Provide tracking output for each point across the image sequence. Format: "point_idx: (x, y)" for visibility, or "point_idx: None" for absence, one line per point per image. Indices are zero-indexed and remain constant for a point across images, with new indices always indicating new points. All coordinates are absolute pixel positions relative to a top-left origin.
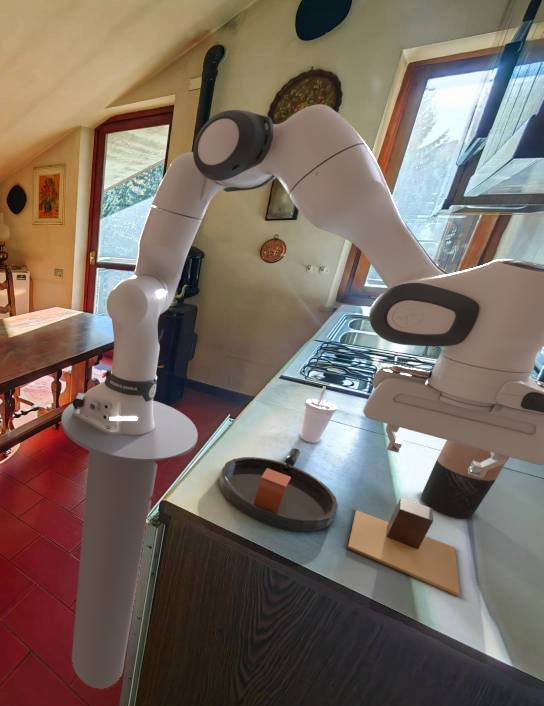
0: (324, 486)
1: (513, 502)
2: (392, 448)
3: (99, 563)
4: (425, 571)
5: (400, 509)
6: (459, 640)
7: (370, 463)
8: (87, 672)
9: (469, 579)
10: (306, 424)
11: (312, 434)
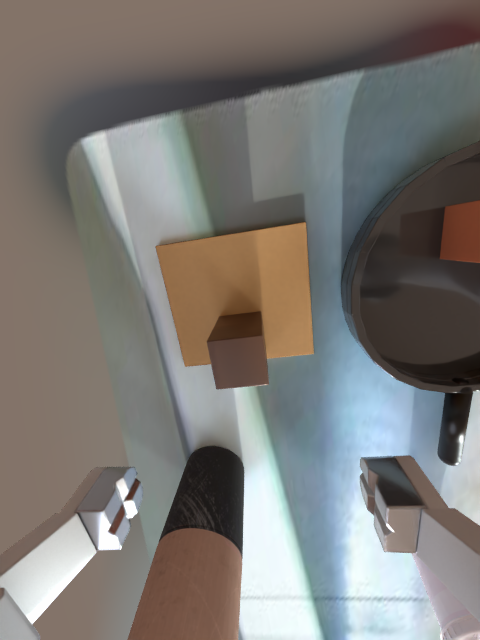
0: (384, 364)
1: (161, 529)
2: (397, 466)
3: None
4: (199, 262)
5: (261, 334)
6: (132, 125)
7: (317, 511)
8: None
9: (157, 306)
10: None
11: None
